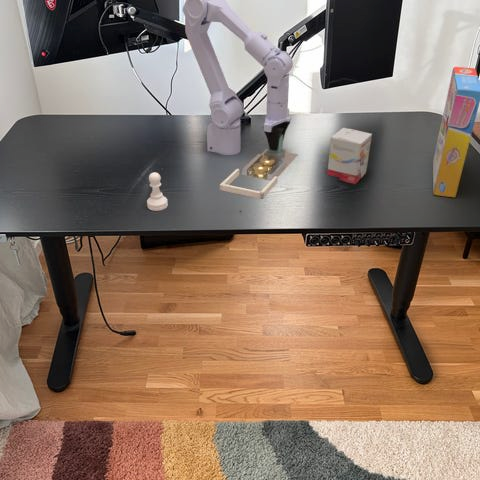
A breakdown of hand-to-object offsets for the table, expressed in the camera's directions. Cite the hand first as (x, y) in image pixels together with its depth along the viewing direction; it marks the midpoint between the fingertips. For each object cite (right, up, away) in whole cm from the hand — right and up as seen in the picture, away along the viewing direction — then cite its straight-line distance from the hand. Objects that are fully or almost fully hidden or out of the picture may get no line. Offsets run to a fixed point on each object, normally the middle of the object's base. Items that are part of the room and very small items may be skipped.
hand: (275, 147), depth 147 cm
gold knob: (-3, -6, -3) cm, 7 cm away
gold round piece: (-5, -8, -6) cm, 12 cm away
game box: (+44, -10, -7) cm, 46 cm away
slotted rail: (-2, -6, -1) cm, 6 cm away
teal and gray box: (0, -3, +2) cm, 3 cm away
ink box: (+19, -9, -5) cm, 22 cm away
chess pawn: (-31, -18, -19) cm, 40 cm away
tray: (-8, -13, -12) cm, 19 cm away
